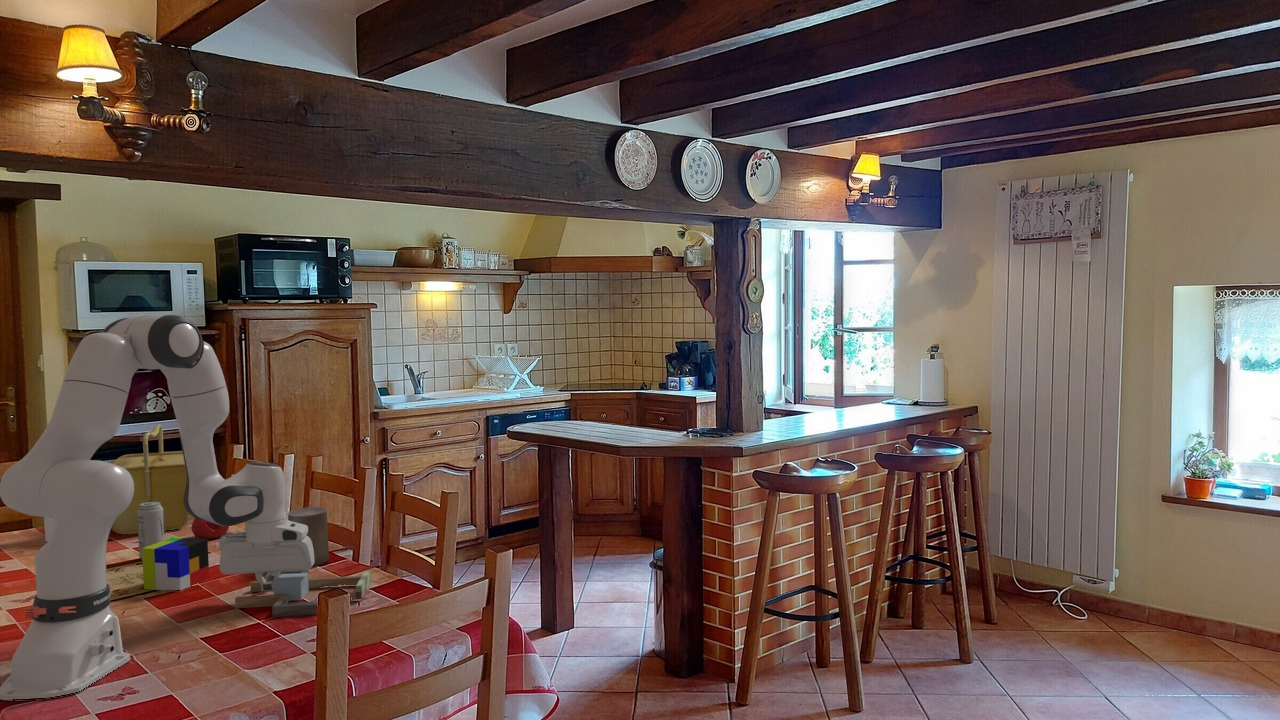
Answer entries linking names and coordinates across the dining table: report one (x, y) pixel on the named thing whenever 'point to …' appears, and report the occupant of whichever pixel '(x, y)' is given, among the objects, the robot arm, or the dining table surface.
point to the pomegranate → (208, 529)
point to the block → (292, 585)
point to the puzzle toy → (175, 563)
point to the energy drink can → (150, 524)
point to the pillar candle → (314, 530)
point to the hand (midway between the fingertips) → (268, 590)
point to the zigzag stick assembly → (301, 608)
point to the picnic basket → (154, 485)
